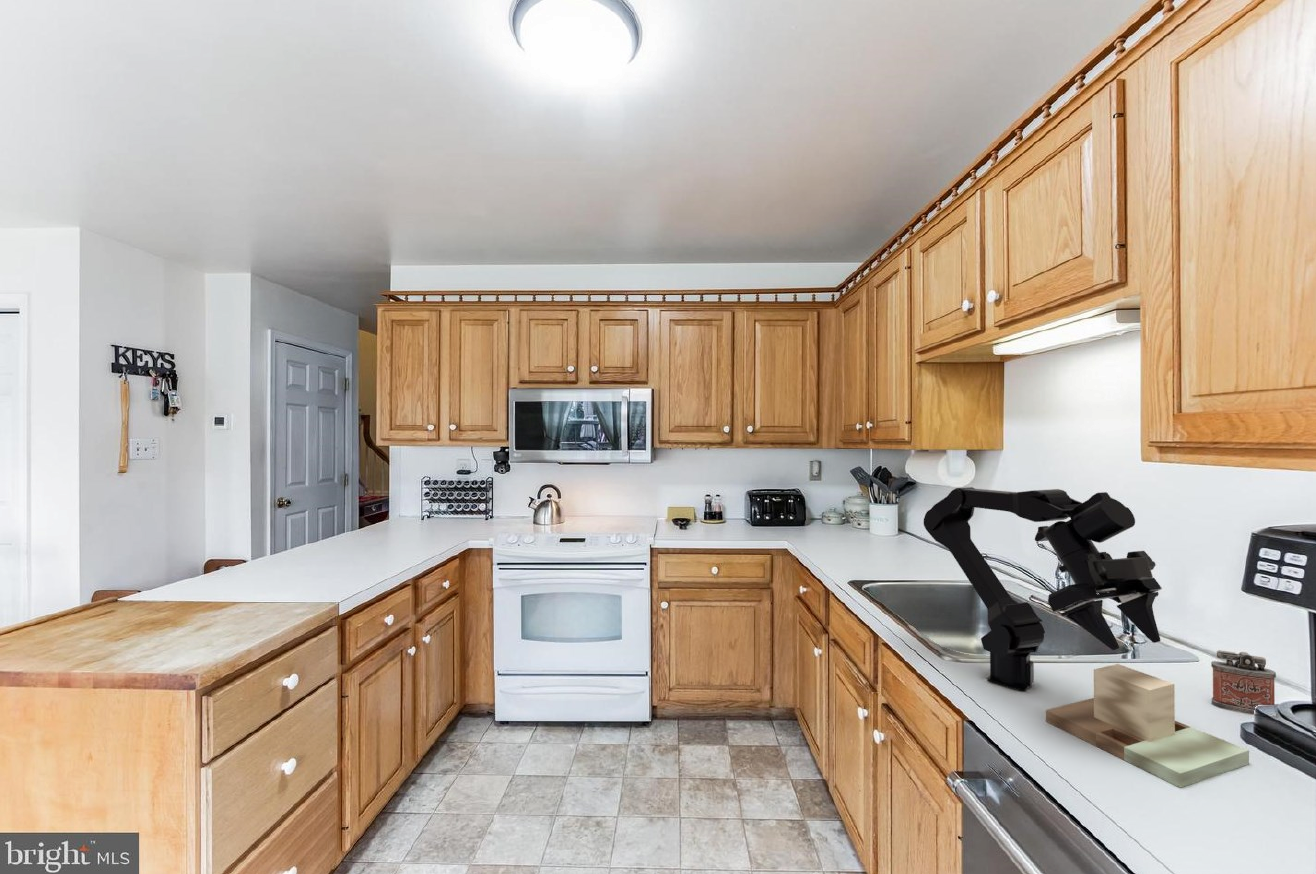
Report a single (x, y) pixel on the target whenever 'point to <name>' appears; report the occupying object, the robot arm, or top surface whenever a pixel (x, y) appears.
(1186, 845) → the top surface
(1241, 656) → the lighter
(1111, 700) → the maple block
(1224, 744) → the board
